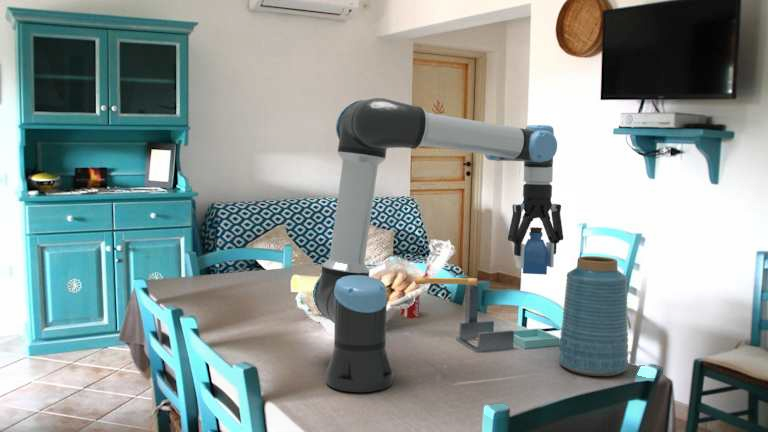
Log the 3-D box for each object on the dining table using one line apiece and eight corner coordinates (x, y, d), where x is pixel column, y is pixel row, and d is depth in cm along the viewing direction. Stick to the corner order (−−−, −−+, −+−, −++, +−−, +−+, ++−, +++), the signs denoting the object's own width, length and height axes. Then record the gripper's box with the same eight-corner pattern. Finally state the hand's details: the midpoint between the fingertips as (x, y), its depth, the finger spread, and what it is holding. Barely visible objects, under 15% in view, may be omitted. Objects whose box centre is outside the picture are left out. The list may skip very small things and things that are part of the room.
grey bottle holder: (513, 349, 185) (515, 294, 183) (475, 352, 181) (477, 297, 180) (484, 334, 200) (486, 283, 199) (449, 337, 196) (450, 285, 195)
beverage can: (413, 322, 213) (414, 283, 211) (396, 319, 215) (397, 281, 214) (422, 318, 218) (423, 280, 217) (405, 316, 220) (406, 278, 219)
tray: (559, 347, 188) (559, 338, 188) (524, 350, 184) (525, 340, 184) (538, 337, 198) (538, 328, 198) (504, 339, 194) (505, 331, 194)
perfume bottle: (546, 274, 186) (548, 229, 185) (522, 273, 187) (524, 228, 186) (545, 270, 192) (547, 227, 191) (522, 269, 193) (524, 226, 192)
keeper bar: (415, 284, 194) (415, 278, 194) (415, 282, 197) (415, 276, 197) (477, 285, 194) (478, 279, 194) (476, 283, 197) (476, 277, 197)
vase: (598, 355, 181) (603, 253, 179) (642, 374, 166) (648, 262, 163) (544, 361, 175) (549, 255, 173) (585, 381, 160) (590, 265, 157)
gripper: (563, 182, 194) (560, 263, 196) (495, 182, 187) (493, 266, 189) (579, 183, 187) (576, 267, 189) (509, 184, 180) (506, 271, 182)
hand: (534, 266), depth 189 cm, fingers closed on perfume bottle, 8 cm apart
